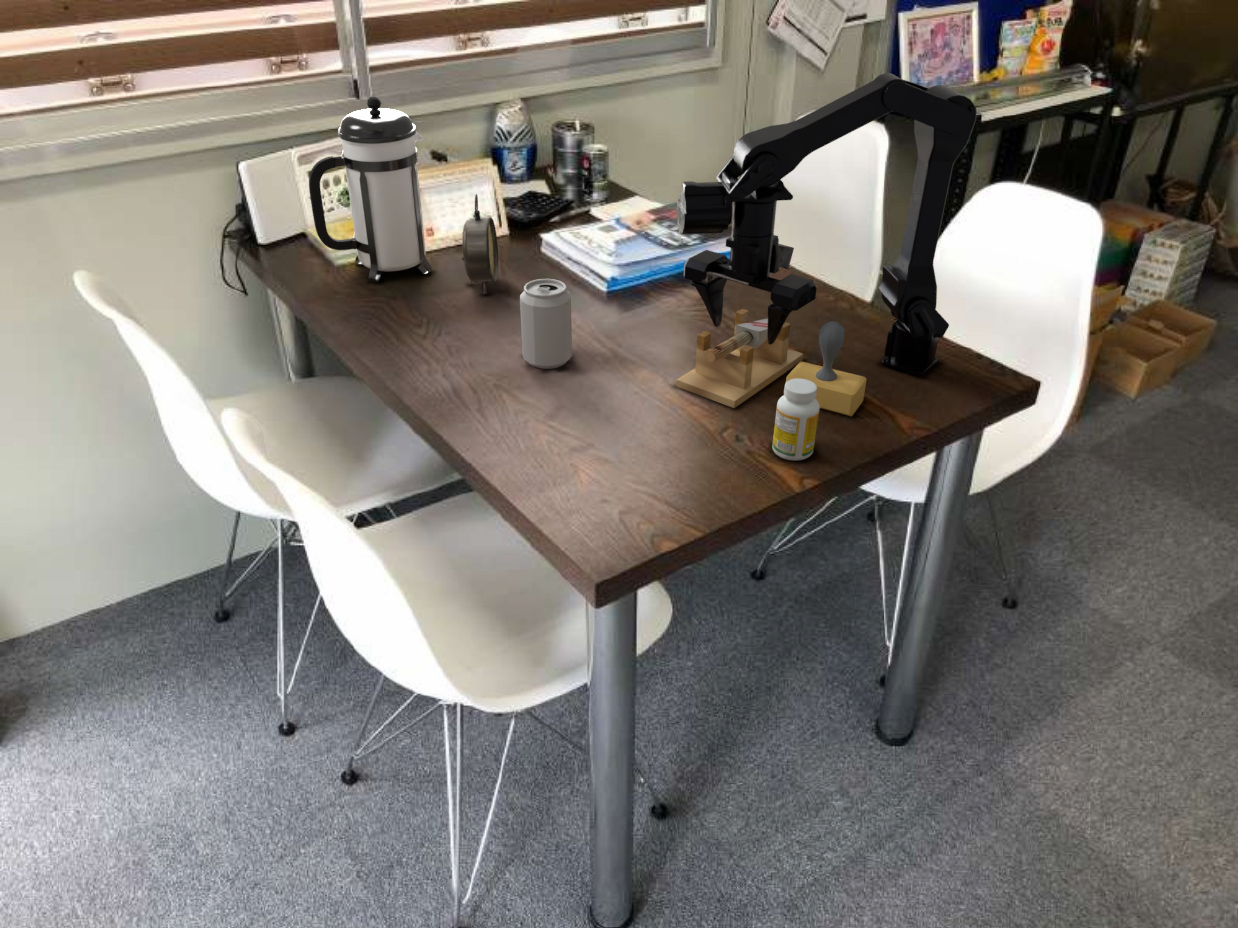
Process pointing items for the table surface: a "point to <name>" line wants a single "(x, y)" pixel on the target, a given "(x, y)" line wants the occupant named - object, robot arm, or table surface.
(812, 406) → the supplement bottle
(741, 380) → the brush rack
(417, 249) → the coffee press
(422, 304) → the table surface
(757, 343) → the paintbrush
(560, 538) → the table surface
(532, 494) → the table surface
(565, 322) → the can
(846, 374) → the rubber stamp
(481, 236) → the alarm clock
